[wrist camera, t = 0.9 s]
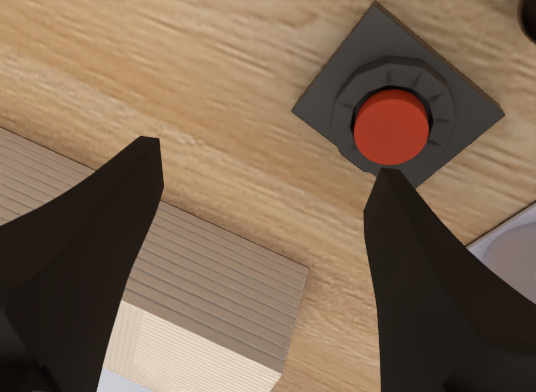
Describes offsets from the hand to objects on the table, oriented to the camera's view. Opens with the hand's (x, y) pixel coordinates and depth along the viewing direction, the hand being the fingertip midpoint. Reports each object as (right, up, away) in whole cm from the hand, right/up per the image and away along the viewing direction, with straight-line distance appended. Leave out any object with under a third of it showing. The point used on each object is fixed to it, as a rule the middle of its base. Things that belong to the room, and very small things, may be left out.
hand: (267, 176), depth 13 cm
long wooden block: (-12, -4, +26) cm, 30 cm away
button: (+7, +4, +10) cm, 13 cm away
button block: (+8, +5, +13) cm, 16 cm away
